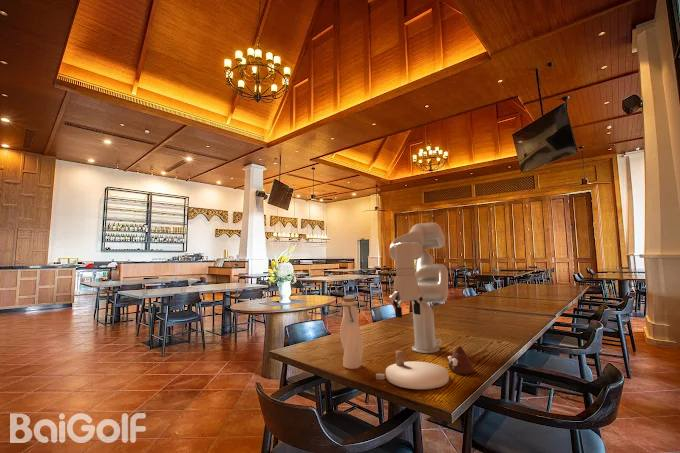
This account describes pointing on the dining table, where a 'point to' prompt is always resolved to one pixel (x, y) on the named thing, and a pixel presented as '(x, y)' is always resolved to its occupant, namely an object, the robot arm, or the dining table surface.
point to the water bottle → (351, 334)
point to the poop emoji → (460, 362)
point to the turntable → (416, 374)
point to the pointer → (380, 376)
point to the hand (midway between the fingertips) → (408, 315)
